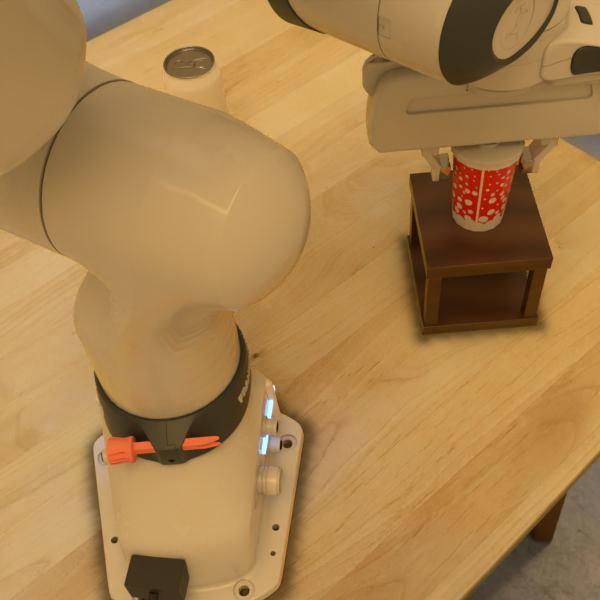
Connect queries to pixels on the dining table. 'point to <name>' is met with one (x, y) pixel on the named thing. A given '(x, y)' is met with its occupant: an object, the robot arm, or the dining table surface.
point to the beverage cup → (483, 182)
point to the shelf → (475, 260)
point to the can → (194, 77)
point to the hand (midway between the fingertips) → (483, 172)
